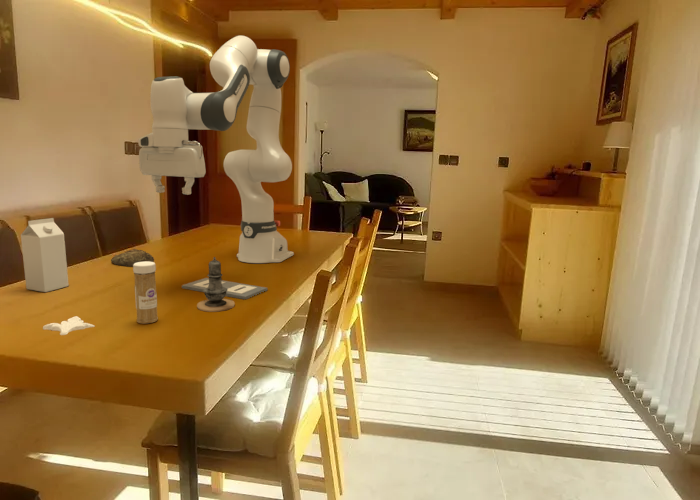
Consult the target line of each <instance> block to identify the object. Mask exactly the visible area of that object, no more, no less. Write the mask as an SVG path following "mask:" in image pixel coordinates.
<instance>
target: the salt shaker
mask: <svg viewBox="0 0 700 500" xmlns="http://www.w3.org/2000/svg"><path fill="white" fill-rule="evenodd" d="M222 276H223V273H222V265H221V261H219V260H218V259H217V258H216V257H215V256H214V257H213V259H212V260H210V261H209V262H208V274H207V278H209V286H208V288H205V289H204V290H203V292H202V293H204V295H205V298H206V300H209V301H207V302H206V303H205V305H206V306H209V307H219V306H223V305H226V304H227V302H226V301H224V300H222V299H225V297H227V296H226V291H227V290H228V289H227V288H225V287H223V286H222V281H221V280H222Z"/></svg>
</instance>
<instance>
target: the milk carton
mask: <svg viewBox="0 0 700 500" xmlns="http://www.w3.org/2000/svg"><path fill="white" fill-rule="evenodd" d="M27 223H28V225H27V226H26V228H25V229H24V231H22V232H21V234H20V240H21V252H22V259H23V260H22V261H23V268H24V279H25V287H26V290H30V291H36V292H42V293H48V292H52V291H56V290H58V289H62V288H66V287H69V285H70V284H69V275H68V273H69V272H68V263H67V255H66V253H67V252H66V251H67V250H66V242H65V234H64V233H65V232H63V230H62V229H61V228H60V227H59V226H58V225H57V224H56V222H55V218H54V217H51V218H50V217H49V218H43V219H42V218H41V219H35V220H28V221H27Z"/></svg>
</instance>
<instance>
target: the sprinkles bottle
mask: <svg viewBox="0 0 700 500" xmlns="http://www.w3.org/2000/svg"><path fill="white" fill-rule="evenodd" d="M132 270H133V271H132V272H133V274H134V295H135V298H134V299H135V309H136V322H137V323H138V324H144V325H145V324H152V323H155V322H157V321H158V319H159V317H158V296H157V286H156V285H157V284H156V270H157V265H156V263H155V261H153V262H149V261H145V262H137V263H134V264H133V266H132Z"/></svg>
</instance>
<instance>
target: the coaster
mask: <svg viewBox="0 0 700 500" xmlns="http://www.w3.org/2000/svg"><path fill="white" fill-rule="evenodd" d="M222 300H224V301H226V302H227V304H226V305H223V306H219V307H209V306H206V305H205V303H206V302H207V301H209V300H208V299H204V300H201V301H199V302H197V304H196V307H197V310H199V311H201V312H202V311H203V312H210V313H215V312H224V311H228V310H230V309H232V308H234V307H235V306H236V305H235V304H236V303H235V301H234V300H232V299H229V298H223V299H222Z"/></svg>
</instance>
